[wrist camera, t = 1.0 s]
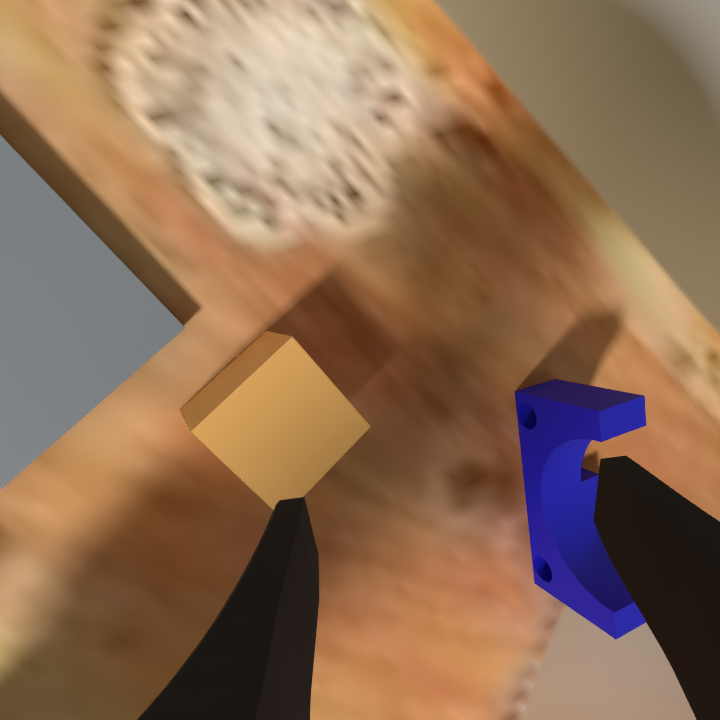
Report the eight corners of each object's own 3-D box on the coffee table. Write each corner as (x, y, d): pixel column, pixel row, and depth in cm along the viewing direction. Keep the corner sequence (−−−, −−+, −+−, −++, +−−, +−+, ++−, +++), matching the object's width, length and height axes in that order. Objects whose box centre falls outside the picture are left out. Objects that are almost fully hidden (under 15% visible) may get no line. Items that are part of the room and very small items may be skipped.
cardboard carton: (258, 485, 24) (282, 518, 21) (179, 410, 23) (190, 431, 19) (335, 408, 25) (370, 426, 22) (265, 330, 24) (292, 336, 20)
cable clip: (587, 555, 34) (676, 604, 28) (532, 581, 32) (615, 639, 27) (572, 373, 32) (665, 388, 26) (512, 390, 30) (598, 411, 25)
